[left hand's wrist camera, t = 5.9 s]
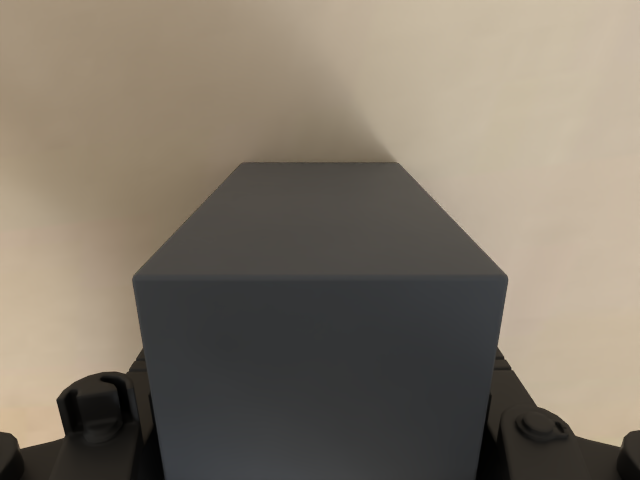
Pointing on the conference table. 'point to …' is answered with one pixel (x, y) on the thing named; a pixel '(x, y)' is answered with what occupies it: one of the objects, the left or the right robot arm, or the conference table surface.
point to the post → (320, 330)
